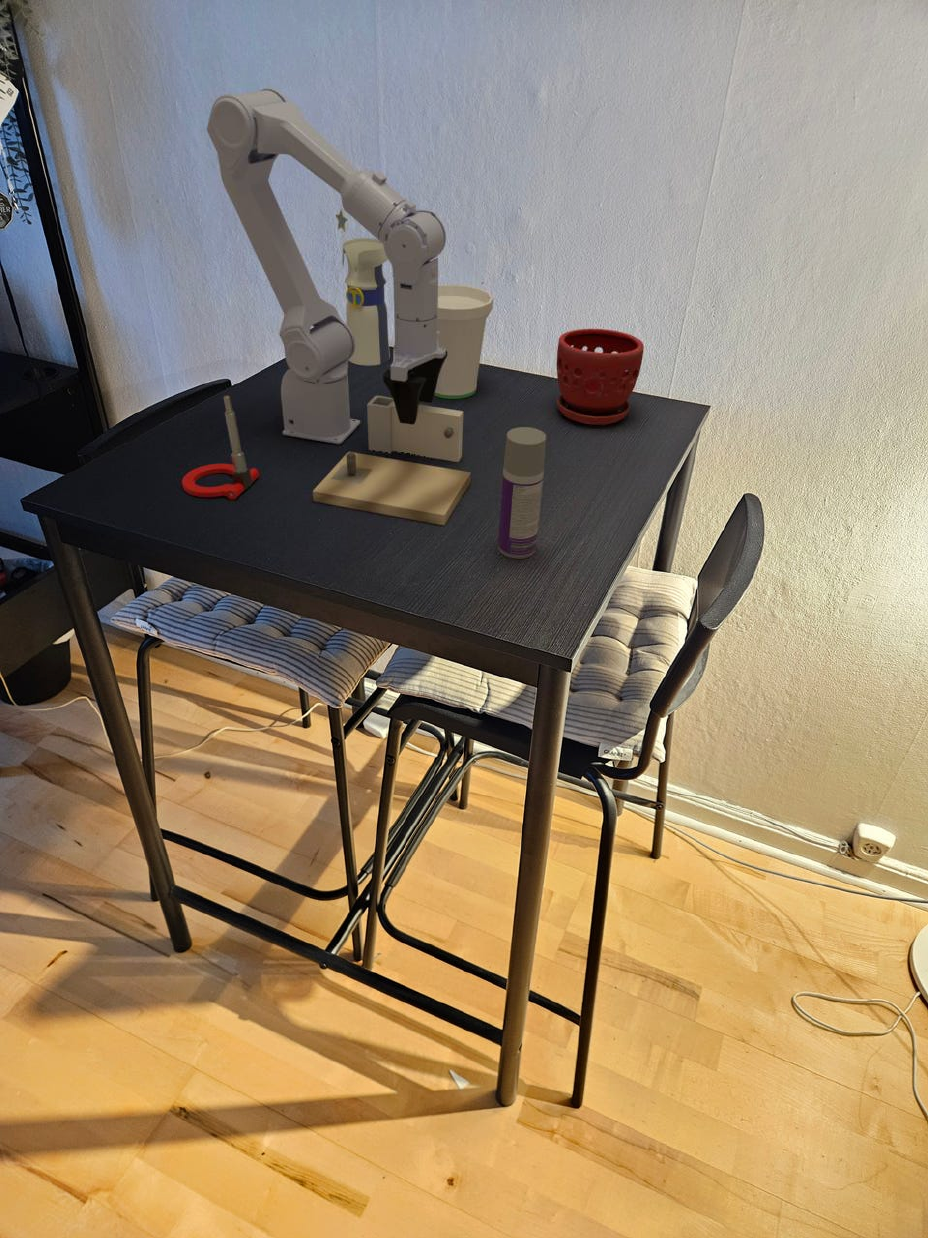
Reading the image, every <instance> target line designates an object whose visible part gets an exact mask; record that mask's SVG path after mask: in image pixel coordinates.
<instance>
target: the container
mask: <svg viewBox="0 0 928 1238" xmlns="http://www.w3.org/2000/svg"><path fill="white" fill-rule="evenodd" d="M546 443H547V436H546V433H545V432H544V431H542V430H540V429H537V428H534V427H529V426H527V427H525V426H523V427H522V426H520V427H514V428H512V429H510V430H509V431H507V432H506V440H505V449H504V459H503V460H504V461H503V469H502V481H501V497H500V510H499V511H500V512H499V524H498V525H499V526H498V538H497V549H498V551H499V552H500V554H502V555H503V556H505V557H507V558H510V559H518V560H519V559H526V558H529V557H531V556H533V555H534V554H535V553H536V550H537V549H536V548H537V542H538V541H537V540H538V532H539V522H540V513H541V505H542V504H541V503H542V493H543V485H544V474H545V473H544V472H545V461H546V460H545V457H546V447H547V444H546Z"/></svg>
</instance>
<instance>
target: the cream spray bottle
mask: <svg viewBox="0 0 928 1238" xmlns="http://www.w3.org/2000/svg"><path fill="white" fill-rule="evenodd" d="M335 217H336V219H337V221H338V224H337V230H340V229H342V230H343V232H344V233H346V223H347V221H348V220H349V219H348V218H347V217H346V216H345V215H344V211H343V208H341V209H340V210H339V214H335ZM345 256H346V262H347V266H348V269H347V276H346V278H345V279H344V283H345V284H346V285H347V289H346V291H345V293H346V294H345V298H346V301H347V302H346V303H347V304H346V324H347V325H348V326H349V328H350V329H351V331H352V333H353V335H354V338H355V351H354V353H353V355H352V357H351V358H350V359H348V362H350V363H352V364H354V365H359V366H379V365H383V364H385V363H387V362H389V360H391V355H390V353H391V352H390V341H389V324H388V321H389V320H388V318H389V317H388V316H389V315H388V308H387V303H386V301H385V285H386V283H387V279H386V277H385V276H384V272H383V264H384V263H386V262H387V261H389V259H388V258H387V256H386V254H385V251H384V246H383V243H382V242H381V241H379V240H378V239H377V238H371V237H360V238H359V237H358V238H353V239H349V240H346V241H344V242H343V243H342V259H341V260H342V261H341V264H342V267H344V265H345Z"/></svg>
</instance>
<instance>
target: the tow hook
mask: <svg viewBox="0 0 928 1238" xmlns="http://www.w3.org/2000/svg"><path fill="white" fill-rule="evenodd" d="M223 401H224V406H225V407H224V408H225V412H224V416H225V420H226V421H225V422H226V425H227V430H228V436H229V437H228V438H229V441H230V447H231V451H232V453H231V454H230V455H231V462H232V464H230V463H212V464H207V465H202V466H200V467H197V468H194V469H193V470H191V471H189V472H188V473H186V474H185V475H184V476H183V478H182V479H181V484H182V488H183V490H184V491H185V492H186V494H189V495H191V496H195V497H201V498H215V497H222V496H224V497H227V498H228V499H230V500H231V501H232V500H236V499H237V498H238V497H239V496H240V495H241V494H242V493H244V492H245V491H246V490H247V489H249V488H250V486H252V484H253V482H255V480H257V479H258V478H259V477H260V471H259V470H258V469H257V468H251V469H250V468H248V467H247V462H246V458H245V457H246V456H245V453H244V452H243V451H242V447H241V441H240V436H239V428H238V426H237V420H236V413H235V411H233V406H232V401H231V396H230V395H224V396H223ZM213 474H227V475H231V476H232V480H233V484H230V483H225V484H222V485H219V486H201V485H198V484H196V482H197V480H198V479H200V478H202V477H205V476H208V475H213Z"/></svg>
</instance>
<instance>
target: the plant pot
mask: <svg viewBox="0 0 928 1238" xmlns="http://www.w3.org/2000/svg"><path fill="white" fill-rule="evenodd" d="M585 347H586V349H585V350H584V348H585ZM597 348H600V349H601V350H602V352H596V349H597ZM644 348H645V347H644V343H643V342H642V340H640V339H639V338H638V337H636V336H634V335H632V334H630V333H626V332H622V331H619V330H614V329H613V330H612V329H604V328H603V329H602V328H581V329H573V330H570V331H567V332H564V333H562V334H561V335H560V336H559V337H558V343H557V349H556V351H557V352H556V378H557V383H558V388H559V391H560V395H559V397H557V400H556V405H557V408H558V409H559V411H560V413H561V414H563V416H564V417H566V418H568V419H570V420H572V421H575V422H578V423H581V424H587V425H601V426H606V425H609V424H612V423H613V424H614V423H616V422H619V421H621V420H622V419H624V418H625V417H626V416H627V415H628V414H629V412H630V409H631V405H630V403H629V401H628V399H629V398H630V396H631V395H632V393H633V392H634V389H635V387H636V385H637V381H638V378H639V375H640V372H641V367H642V362H643V357H644V351H645V350H644Z"/></svg>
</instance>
